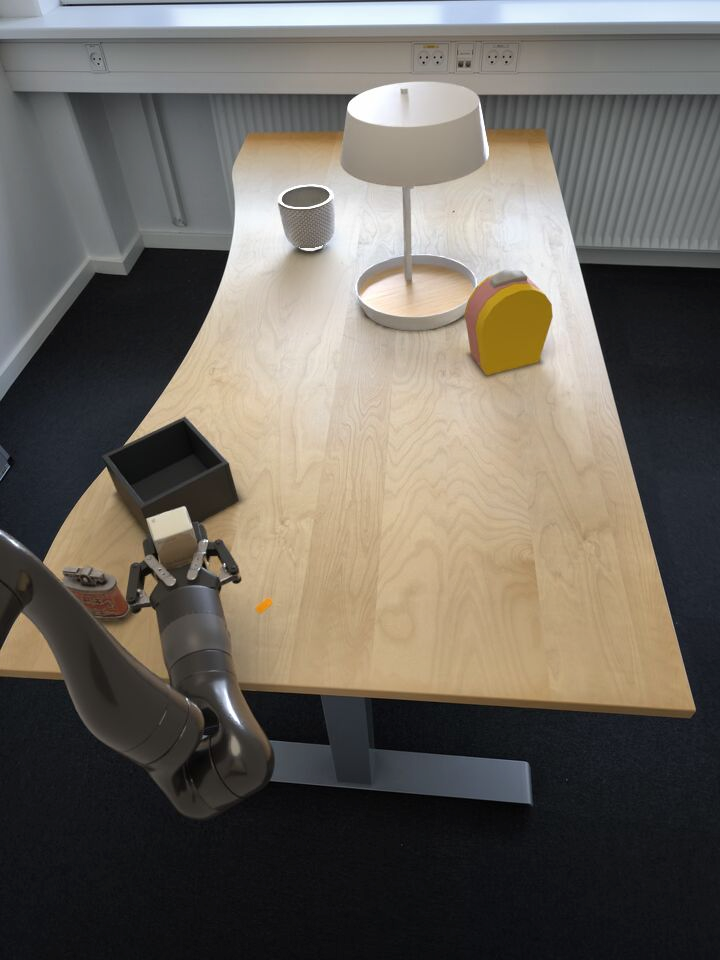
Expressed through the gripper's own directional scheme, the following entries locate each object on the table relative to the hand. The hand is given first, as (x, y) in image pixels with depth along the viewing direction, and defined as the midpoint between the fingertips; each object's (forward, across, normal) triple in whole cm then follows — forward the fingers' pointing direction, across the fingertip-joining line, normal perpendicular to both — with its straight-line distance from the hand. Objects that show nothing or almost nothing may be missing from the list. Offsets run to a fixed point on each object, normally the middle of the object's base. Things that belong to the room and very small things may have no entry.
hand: (173, 532), depth 95 cm
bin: (+27, 0, +19) cm, 33 cm away
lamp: (+69, -61, +18) cm, 94 cm away
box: (-3, 0, +7) cm, 7 cm away
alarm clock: (+41, -69, +18) cm, 82 cm away
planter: (+105, -46, +18) cm, 116 cm away
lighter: (+7, +14, +19) cm, 25 cm away
